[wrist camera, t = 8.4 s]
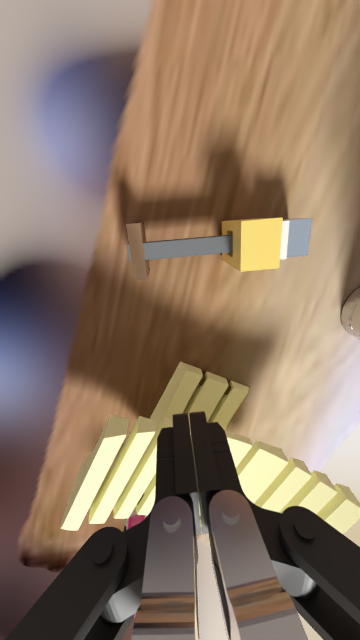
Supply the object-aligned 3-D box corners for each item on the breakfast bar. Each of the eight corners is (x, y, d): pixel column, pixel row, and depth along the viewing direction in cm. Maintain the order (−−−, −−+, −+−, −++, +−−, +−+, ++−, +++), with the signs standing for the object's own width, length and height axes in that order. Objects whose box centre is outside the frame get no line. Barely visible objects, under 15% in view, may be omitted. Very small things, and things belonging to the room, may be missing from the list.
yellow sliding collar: (252, 218, 31) (282, 217, 23) (251, 257, 33) (278, 268, 25) (221, 221, 31) (241, 221, 23) (222, 259, 33) (240, 271, 25)
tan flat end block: (143, 222, 31) (140, 222, 26) (149, 270, 33) (147, 278, 28) (132, 223, 31) (125, 224, 26) (138, 270, 33) (134, 279, 28)
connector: (288, 218, 32) (312, 218, 27) (285, 250, 34) (307, 255, 28) (265, 220, 32) (285, 220, 27) (264, 252, 33) (282, 257, 28)
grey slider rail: (297, 228, 29) (305, 229, 27) (296, 244, 30) (304, 246, 28) (129, 243, 29) (126, 244, 27) (131, 259, 29) (129, 261, 28)
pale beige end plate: (273, 220, 30) (289, 220, 26) (271, 254, 31) (286, 259, 27) (265, 221, 30) (280, 221, 26) (264, 255, 31) (277, 259, 27)
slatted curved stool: (96, 418, 42) (53, 544, 26) (130, 342, 37) (103, 438, 21) (244, 462, 49) (285, 586, 32) (289, 402, 44) (366, 512, 27)
